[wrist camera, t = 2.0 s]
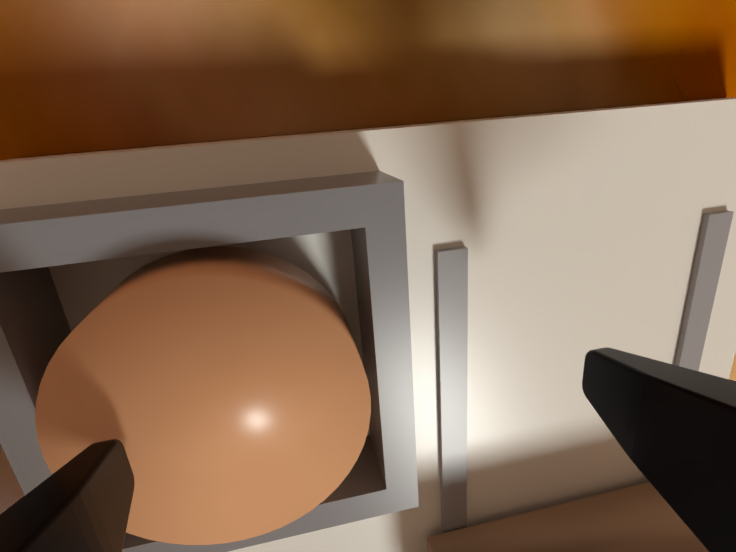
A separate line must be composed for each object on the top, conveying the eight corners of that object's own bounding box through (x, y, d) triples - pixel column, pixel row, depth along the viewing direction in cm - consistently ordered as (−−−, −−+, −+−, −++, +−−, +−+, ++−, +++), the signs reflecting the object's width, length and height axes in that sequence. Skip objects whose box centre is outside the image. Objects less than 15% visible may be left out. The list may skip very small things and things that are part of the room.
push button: (363, 446, 12) (380, 508, 10) (125, 496, 11) (93, 574, 9) (342, 229, 9) (357, 255, 8) (43, 266, 8) (-22, 306, 7)
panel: (637, 553, 20) (718, 649, 17) (197, 676, 17) (175, 828, 13) (728, 97, 13) (901, 87, 10) (17, 158, 10) (-131, 177, 6)
